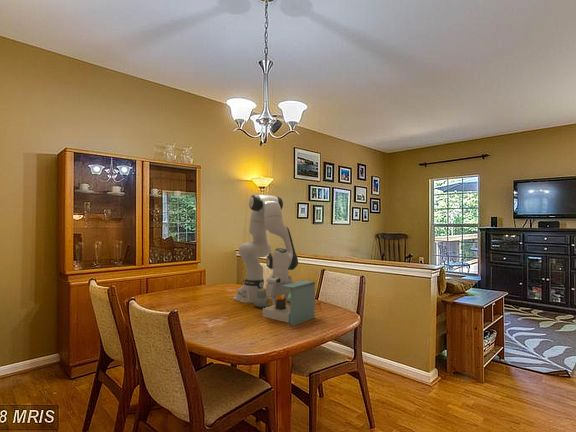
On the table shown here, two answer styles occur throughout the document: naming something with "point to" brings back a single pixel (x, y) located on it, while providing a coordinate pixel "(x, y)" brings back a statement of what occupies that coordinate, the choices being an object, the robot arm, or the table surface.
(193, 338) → the table surface
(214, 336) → the table surface
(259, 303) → the air freshener
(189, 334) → the table surface
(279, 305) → the peg
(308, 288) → the teal stepped panel
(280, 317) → the socket block
